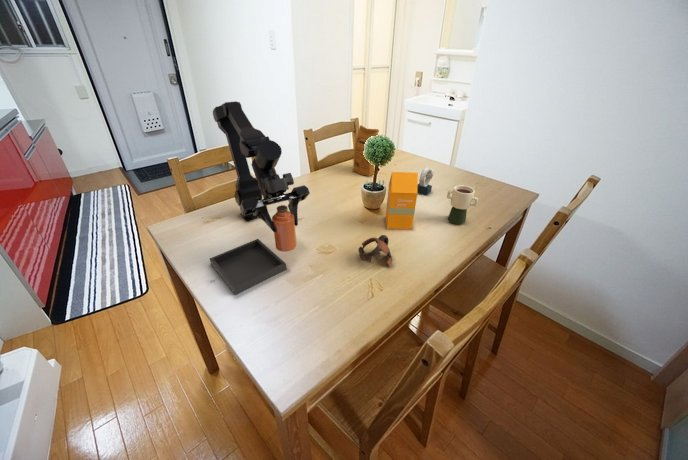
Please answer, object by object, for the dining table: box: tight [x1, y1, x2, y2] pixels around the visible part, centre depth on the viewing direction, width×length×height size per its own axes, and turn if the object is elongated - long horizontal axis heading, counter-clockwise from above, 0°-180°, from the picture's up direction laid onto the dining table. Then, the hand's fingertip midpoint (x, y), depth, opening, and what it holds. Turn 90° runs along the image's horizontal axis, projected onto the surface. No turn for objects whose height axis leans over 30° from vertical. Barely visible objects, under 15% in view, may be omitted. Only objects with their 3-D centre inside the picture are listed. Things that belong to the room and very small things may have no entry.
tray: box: [209, 238, 288, 296], centre depth 88 cm, size 17×16×3 cm
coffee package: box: [352, 124, 380, 177], centre depth 146 cm, size 10×12×22 cm
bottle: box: [271, 204, 298, 253], centre depth 84 cm, size 6×6×12 cm
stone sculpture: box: [417, 167, 435, 196], centre depth 130 cm, size 6×8×11 cm
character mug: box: [446, 184, 479, 225], centre depth 109 cm, size 11×7×13 cm, turn 52°
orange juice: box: [385, 171, 419, 230], centre depth 105 cm, size 8×9×20 cm
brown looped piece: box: [358, 234, 393, 268], centre depth 92 cm, size 12×10×8 cm
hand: (286, 228), depth 83 cm, fingers closed on bottle, 6 cm apart
